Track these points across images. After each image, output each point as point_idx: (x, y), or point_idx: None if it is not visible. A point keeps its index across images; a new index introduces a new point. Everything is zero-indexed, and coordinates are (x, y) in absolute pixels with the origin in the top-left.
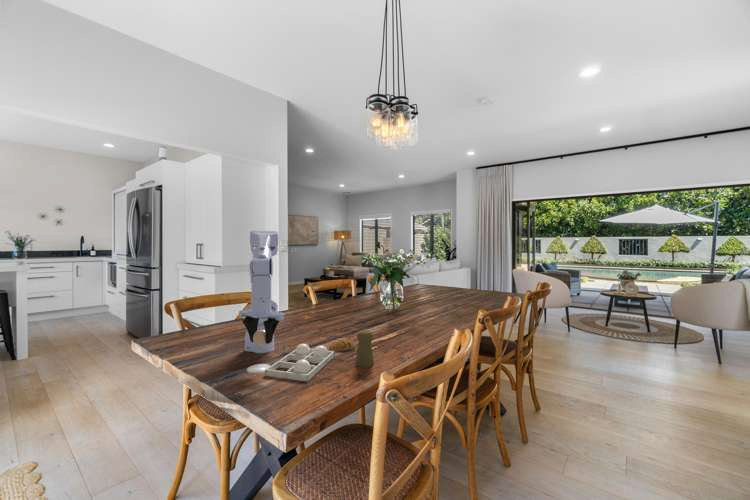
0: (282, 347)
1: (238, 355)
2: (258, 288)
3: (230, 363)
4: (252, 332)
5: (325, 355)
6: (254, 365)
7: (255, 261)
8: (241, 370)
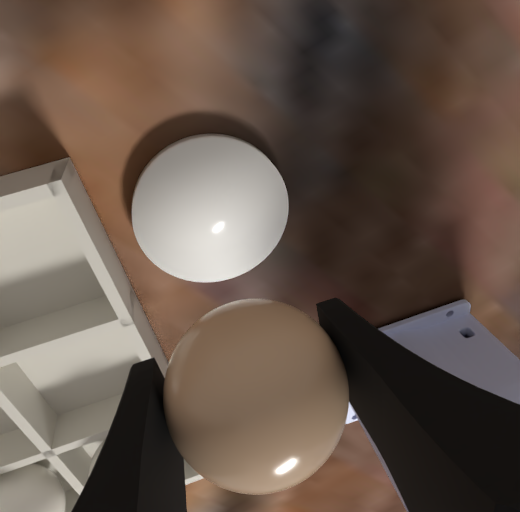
0: None
1: (474, 271)
2: None
3: (448, 183)
4: (368, 383)
5: None
6: (275, 227)
7: None
8: (315, 153)
